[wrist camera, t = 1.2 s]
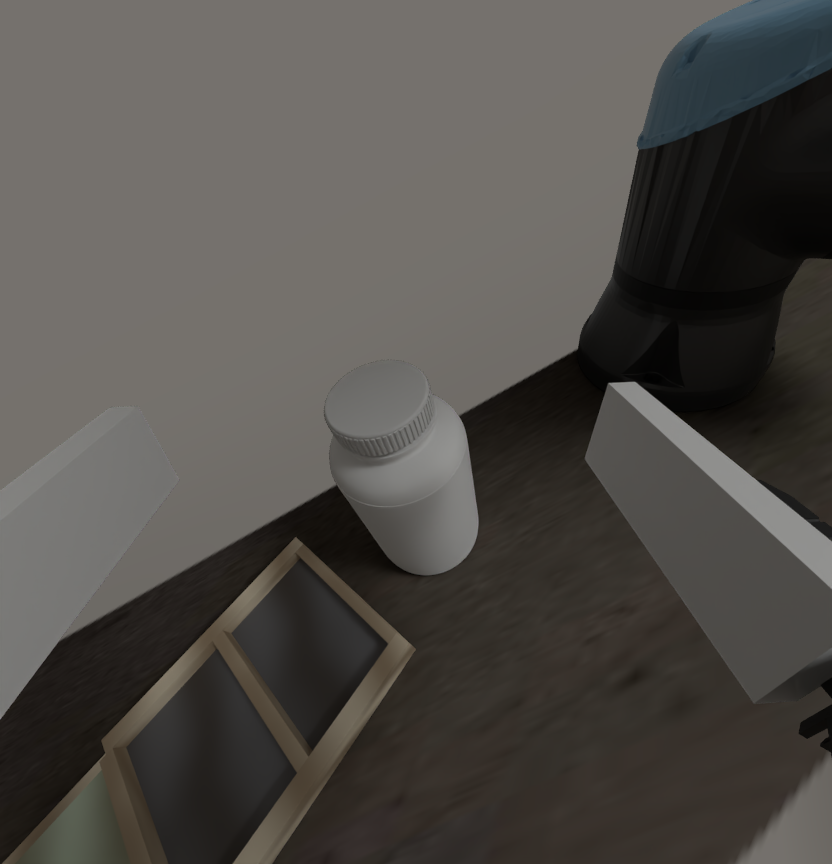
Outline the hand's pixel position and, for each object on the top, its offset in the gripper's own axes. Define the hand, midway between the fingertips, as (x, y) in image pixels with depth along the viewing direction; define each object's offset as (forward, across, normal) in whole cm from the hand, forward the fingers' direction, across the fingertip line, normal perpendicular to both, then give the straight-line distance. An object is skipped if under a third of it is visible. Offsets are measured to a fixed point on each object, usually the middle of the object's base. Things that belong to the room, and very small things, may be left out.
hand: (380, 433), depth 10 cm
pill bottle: (+10, +2, -16) cm, 19 cm away
